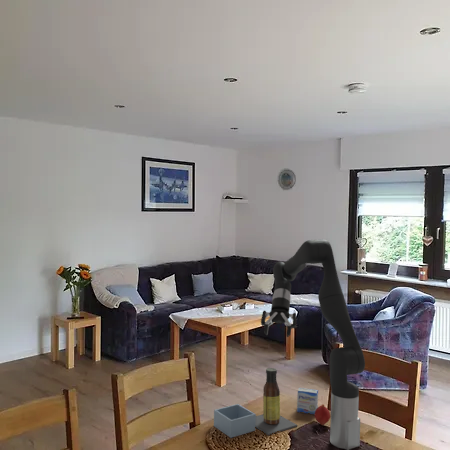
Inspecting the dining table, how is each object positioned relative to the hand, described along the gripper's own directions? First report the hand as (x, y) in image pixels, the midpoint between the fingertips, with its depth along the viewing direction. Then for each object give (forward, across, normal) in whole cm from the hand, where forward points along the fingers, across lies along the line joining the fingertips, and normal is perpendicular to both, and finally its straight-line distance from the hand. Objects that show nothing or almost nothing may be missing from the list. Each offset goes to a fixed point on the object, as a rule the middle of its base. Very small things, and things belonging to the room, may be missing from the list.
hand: (276, 335), depth 188 cm
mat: (+30, 0, +13) cm, 33 cm away
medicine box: (+20, +13, +24) cm, 34 cm away
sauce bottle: (+30, 0, +13) cm, 33 cm away
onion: (+27, +19, +16) cm, 37 cm away
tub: (+36, -12, +8) cm, 39 cm away
